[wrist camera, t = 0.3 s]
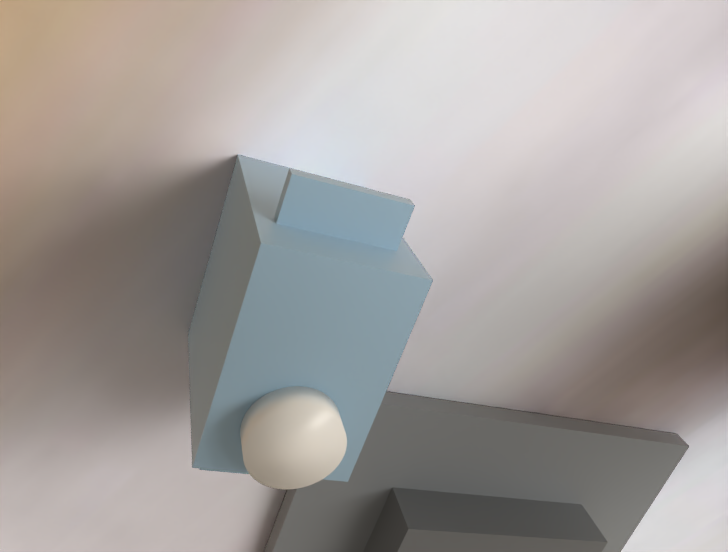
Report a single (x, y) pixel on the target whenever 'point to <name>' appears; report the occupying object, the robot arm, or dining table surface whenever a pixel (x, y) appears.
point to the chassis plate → (481, 484)
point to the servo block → (298, 324)
